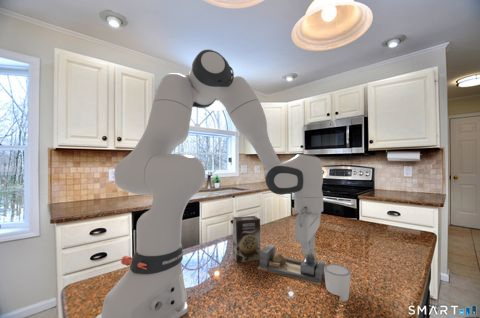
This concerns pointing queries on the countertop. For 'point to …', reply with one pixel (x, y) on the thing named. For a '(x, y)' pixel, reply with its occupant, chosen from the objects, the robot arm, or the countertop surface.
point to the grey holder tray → (288, 266)
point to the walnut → (278, 258)
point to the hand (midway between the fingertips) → (308, 248)
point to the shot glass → (337, 280)
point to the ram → (309, 261)
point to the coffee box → (246, 238)
